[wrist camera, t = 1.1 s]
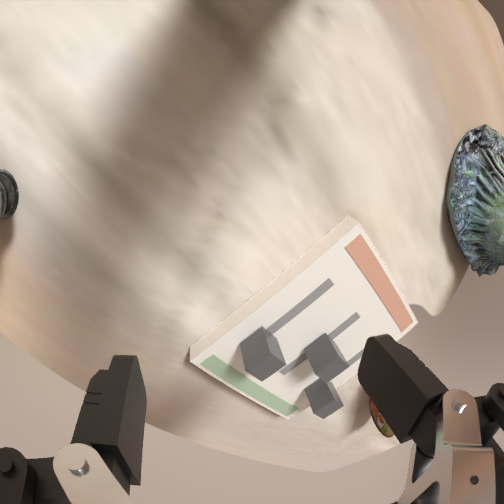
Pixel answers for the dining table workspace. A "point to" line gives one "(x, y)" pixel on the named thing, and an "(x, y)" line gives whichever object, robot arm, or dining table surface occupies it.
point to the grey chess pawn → (7, 194)
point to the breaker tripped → (326, 358)
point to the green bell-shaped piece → (478, 198)
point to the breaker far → (323, 398)
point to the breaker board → (310, 318)
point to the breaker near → (262, 354)
